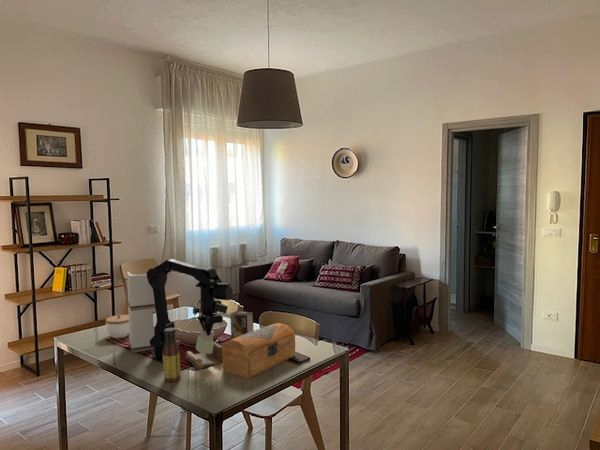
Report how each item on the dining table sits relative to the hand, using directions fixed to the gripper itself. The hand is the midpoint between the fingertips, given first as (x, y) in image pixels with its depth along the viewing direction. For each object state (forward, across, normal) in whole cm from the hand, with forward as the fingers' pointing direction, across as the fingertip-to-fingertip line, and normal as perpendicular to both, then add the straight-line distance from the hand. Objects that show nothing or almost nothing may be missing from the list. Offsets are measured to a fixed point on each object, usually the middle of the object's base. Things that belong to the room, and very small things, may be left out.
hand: (207, 334), depth 189 cm
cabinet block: (+7, 0, +2) cm, 7 cm away
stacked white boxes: (+14, +37, +17) cm, 43 cm away
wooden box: (+12, -12, -19) cm, 26 cm away
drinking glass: (+13, +24, -12) cm, 30 cm away
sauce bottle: (+13, -7, +17) cm, 23 cm away
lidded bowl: (+14, +61, +22) cm, 66 cm away
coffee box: (+13, +10, -21) cm, 27 cm away
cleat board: (+13, +4, 0) cm, 13 cm away
